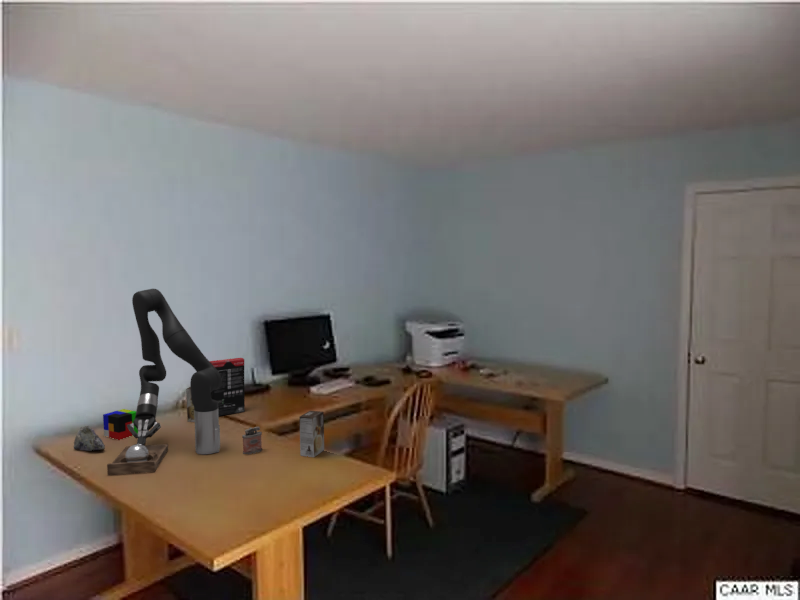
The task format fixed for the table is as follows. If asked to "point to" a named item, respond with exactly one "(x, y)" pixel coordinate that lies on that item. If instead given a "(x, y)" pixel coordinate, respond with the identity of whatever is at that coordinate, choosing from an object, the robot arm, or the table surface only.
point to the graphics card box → (230, 386)
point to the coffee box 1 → (190, 406)
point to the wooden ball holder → (149, 465)
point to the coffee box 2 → (311, 433)
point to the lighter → (252, 441)
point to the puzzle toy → (118, 423)
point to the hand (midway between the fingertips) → (140, 446)
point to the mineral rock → (88, 440)
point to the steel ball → (137, 453)
